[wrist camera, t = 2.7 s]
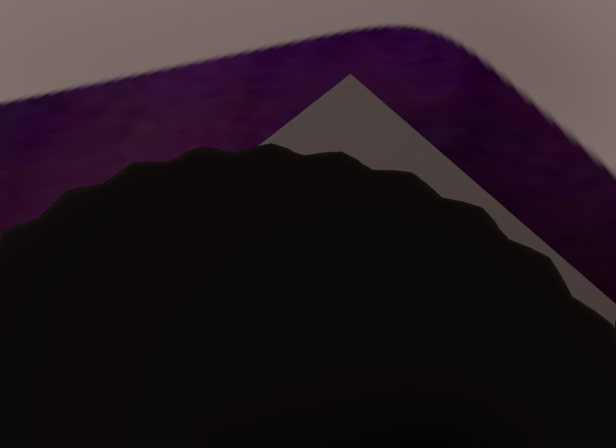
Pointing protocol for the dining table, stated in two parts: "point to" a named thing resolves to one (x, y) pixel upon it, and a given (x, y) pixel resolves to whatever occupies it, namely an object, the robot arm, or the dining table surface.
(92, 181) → the dining table surface
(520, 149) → the dining table surface
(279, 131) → the housing
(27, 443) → the supplement bottle
